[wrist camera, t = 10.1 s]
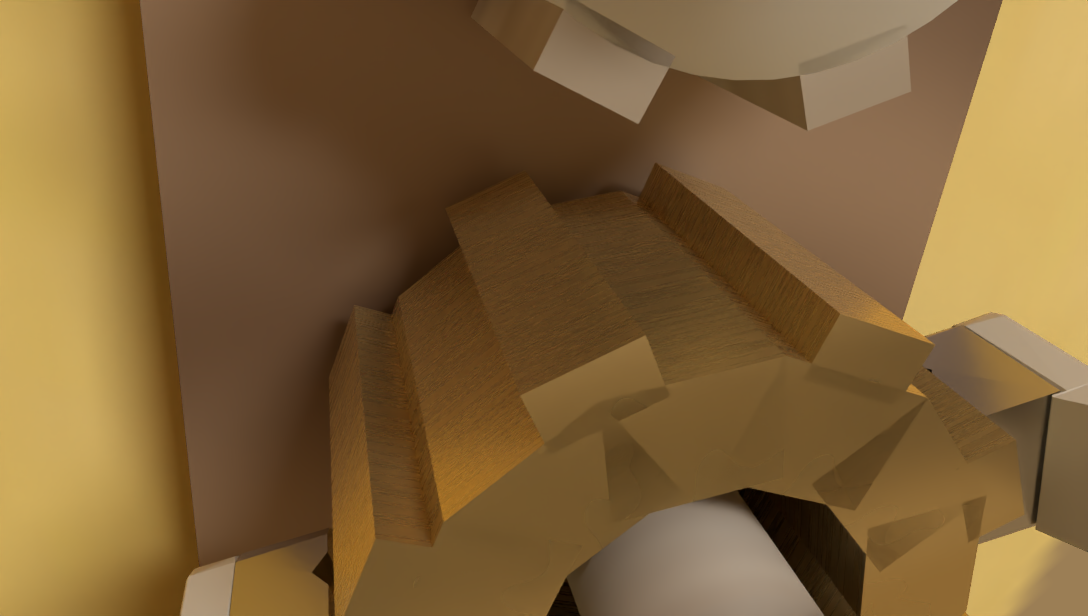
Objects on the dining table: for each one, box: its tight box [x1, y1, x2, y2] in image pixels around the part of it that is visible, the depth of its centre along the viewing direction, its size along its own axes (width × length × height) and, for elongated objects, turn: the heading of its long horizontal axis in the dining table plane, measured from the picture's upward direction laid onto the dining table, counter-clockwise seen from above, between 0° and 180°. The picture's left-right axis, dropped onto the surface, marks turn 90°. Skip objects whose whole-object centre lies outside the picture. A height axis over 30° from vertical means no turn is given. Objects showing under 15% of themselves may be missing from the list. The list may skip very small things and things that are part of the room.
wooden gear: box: [329, 162, 1024, 616], centre depth 9 cm, size 6×6×4 cm
